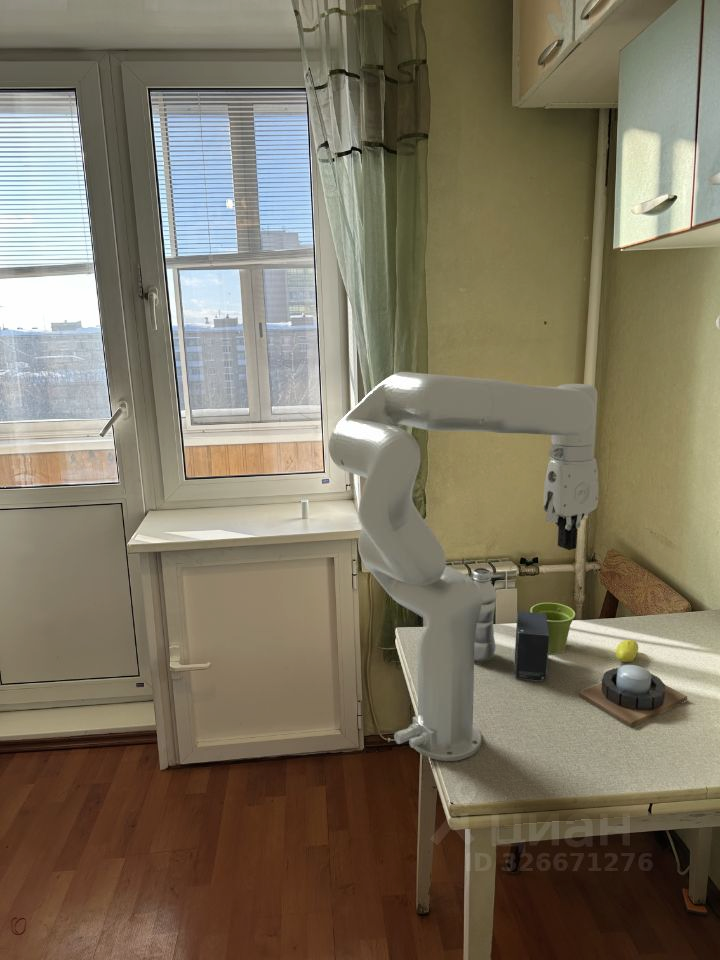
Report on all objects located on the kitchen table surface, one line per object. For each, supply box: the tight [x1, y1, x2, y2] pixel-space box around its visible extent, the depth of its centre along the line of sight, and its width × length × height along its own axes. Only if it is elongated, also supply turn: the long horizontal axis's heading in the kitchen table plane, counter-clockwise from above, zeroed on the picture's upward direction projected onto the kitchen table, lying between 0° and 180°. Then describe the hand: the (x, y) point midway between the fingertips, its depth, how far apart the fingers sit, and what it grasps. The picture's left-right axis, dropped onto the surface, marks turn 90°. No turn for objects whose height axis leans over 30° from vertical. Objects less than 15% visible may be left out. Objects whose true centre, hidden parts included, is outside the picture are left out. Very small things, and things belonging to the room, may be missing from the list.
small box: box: [514, 610, 549, 682], centre depth 142 cm, size 11×6×10 cm, turn 168°
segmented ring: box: [601, 667, 667, 711], centre depth 131 cm, size 11×11×2 cm
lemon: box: [615, 639, 639, 663], centre depth 146 cm, size 4×8×4 cm, turn 140°
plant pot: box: [529, 602, 576, 655], centre depth 150 cm, size 9×9×9 cm
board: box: [578, 682, 688, 729], centre depth 131 cm, size 16×12×1 cm
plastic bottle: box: [472, 567, 498, 662], centre depth 145 cm, size 6×7×20 cm
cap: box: [616, 664, 652, 694], centre depth 130 cm, size 6×6×5 cm
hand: (566, 547), depth 129 cm, fingers closed
